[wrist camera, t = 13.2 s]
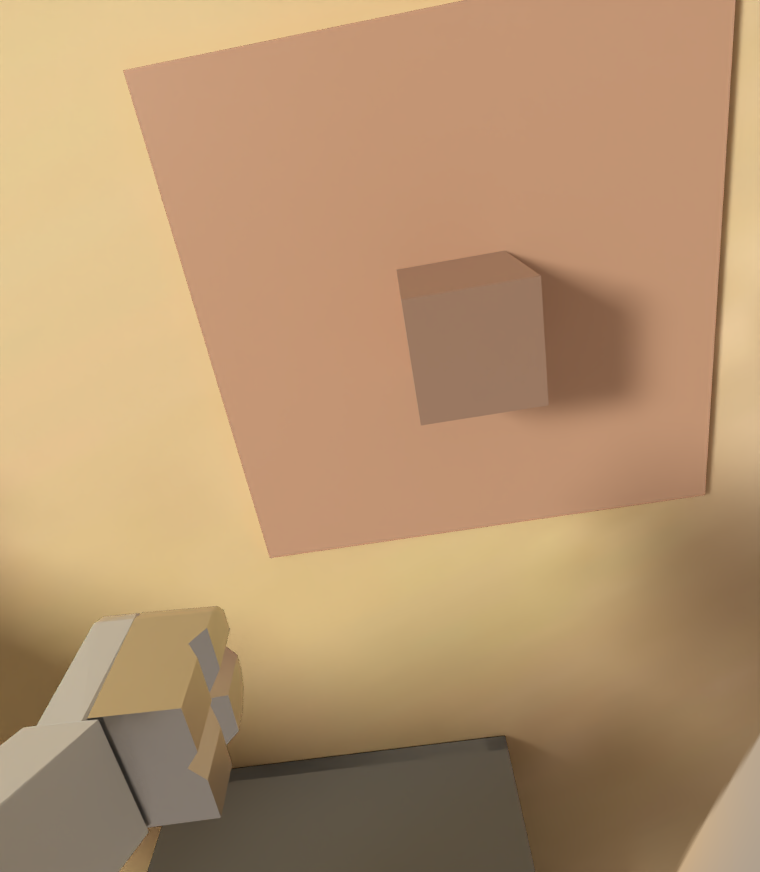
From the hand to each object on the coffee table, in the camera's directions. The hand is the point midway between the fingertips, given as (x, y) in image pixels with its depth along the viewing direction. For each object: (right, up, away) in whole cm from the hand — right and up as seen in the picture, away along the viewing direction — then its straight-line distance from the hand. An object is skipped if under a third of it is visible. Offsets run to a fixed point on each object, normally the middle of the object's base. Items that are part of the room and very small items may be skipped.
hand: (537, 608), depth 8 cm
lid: (0, +6, +10) cm, 12 cm away
